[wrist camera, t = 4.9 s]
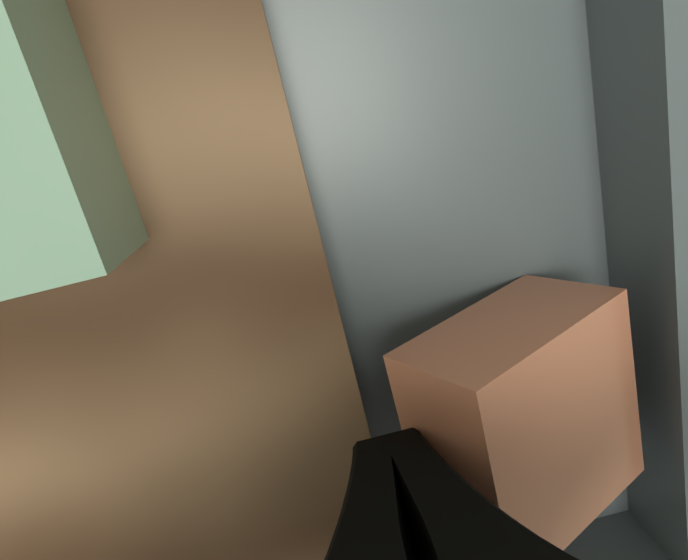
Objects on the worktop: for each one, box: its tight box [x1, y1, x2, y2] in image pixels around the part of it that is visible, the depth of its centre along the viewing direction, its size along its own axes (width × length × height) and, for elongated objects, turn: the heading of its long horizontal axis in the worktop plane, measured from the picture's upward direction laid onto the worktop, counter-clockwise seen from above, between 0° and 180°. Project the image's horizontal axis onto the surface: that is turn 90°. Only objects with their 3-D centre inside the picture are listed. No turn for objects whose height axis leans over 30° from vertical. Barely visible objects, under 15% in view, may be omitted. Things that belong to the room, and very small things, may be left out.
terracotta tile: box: [383, 275, 644, 550], centre depth 12 cm, size 4×4×2 cm
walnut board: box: [0, 0, 371, 560], centre depth 12 cm, size 20×10×2 cm, turn 13°
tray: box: [262, 0, 688, 560], centre depth 12 cm, size 20×7×3 cm, turn 13°
